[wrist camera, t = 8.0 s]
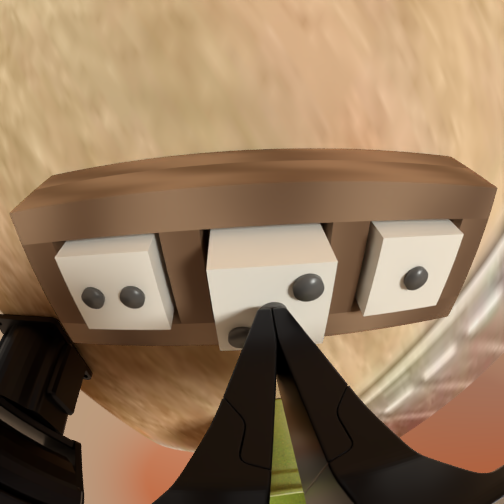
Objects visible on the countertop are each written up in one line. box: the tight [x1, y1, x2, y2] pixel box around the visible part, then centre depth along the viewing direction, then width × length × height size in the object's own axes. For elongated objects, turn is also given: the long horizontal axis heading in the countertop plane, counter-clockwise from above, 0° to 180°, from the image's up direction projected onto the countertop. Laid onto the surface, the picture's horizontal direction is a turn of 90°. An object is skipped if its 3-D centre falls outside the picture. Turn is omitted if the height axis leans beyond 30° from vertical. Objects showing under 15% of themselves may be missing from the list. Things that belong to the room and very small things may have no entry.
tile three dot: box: [206, 223, 338, 351], centre depth 10 cm, size 4×4×3 cm
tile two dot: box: [55, 233, 176, 330], centre depth 11 cm, size 4×4×3 cm
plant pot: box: [270, 399, 306, 504], centre depth 21 cm, size 9×9×9 cm
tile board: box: [10, 149, 497, 346], centre depth 12 cm, size 18×7×4 cm, turn 92°
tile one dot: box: [355, 219, 464, 316], centre depth 11 cm, size 4×4×3 cm
